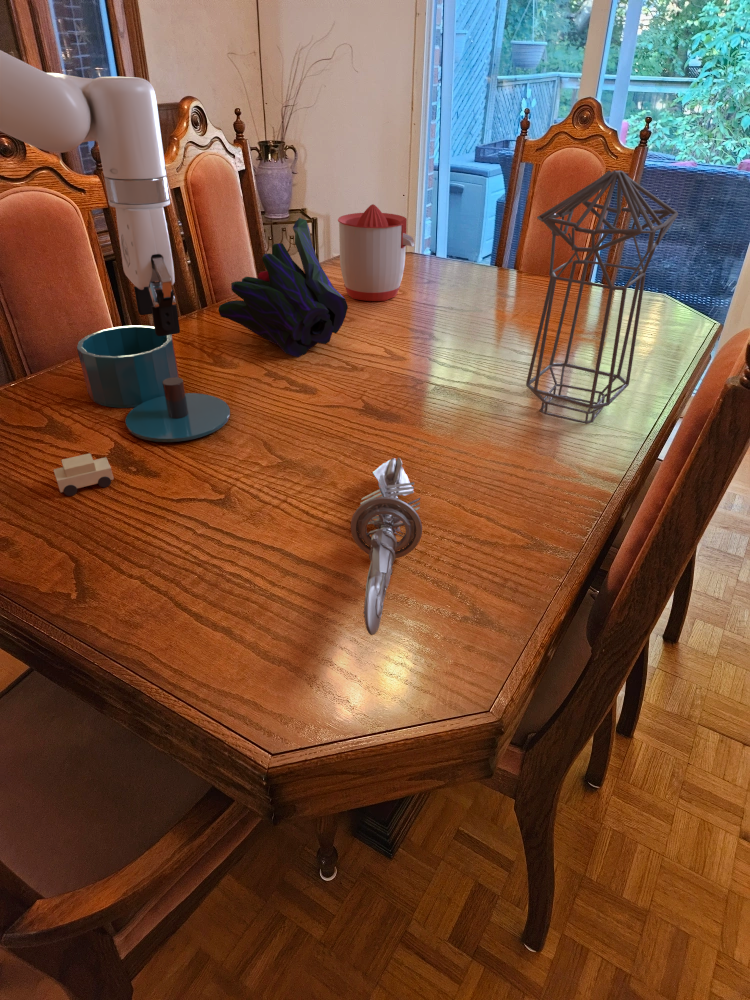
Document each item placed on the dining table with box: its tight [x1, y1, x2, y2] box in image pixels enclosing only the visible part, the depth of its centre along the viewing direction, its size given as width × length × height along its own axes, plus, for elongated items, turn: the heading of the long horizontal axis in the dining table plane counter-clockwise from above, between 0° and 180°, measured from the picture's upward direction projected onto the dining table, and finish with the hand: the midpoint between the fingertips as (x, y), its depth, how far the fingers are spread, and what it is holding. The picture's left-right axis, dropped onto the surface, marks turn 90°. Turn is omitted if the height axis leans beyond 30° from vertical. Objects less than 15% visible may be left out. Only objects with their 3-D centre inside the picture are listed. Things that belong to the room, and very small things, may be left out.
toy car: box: [53, 452, 115, 497], centre depth 86 cm, size 7×3×4 cm, turn 119°
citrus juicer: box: [337, 203, 416, 302], centre depth 152 cm, size 16×17×20 cm
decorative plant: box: [218, 217, 349, 358], centre depth 130 cm, size 21×26×30 cm
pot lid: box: [124, 377, 231, 443], centre depth 101 cm, size 16×16×7 cm
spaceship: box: [350, 457, 423, 636], centre depth 73 cm, size 8×35×8 cm
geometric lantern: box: [525, 169, 679, 425], centre depth 97 cm, size 16×16×35 cm
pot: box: [76, 325, 180, 409], centre depth 110 cm, size 15×15×8 cm
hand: (158, 323), depth 94 cm, fingers open, 9 cm apart
